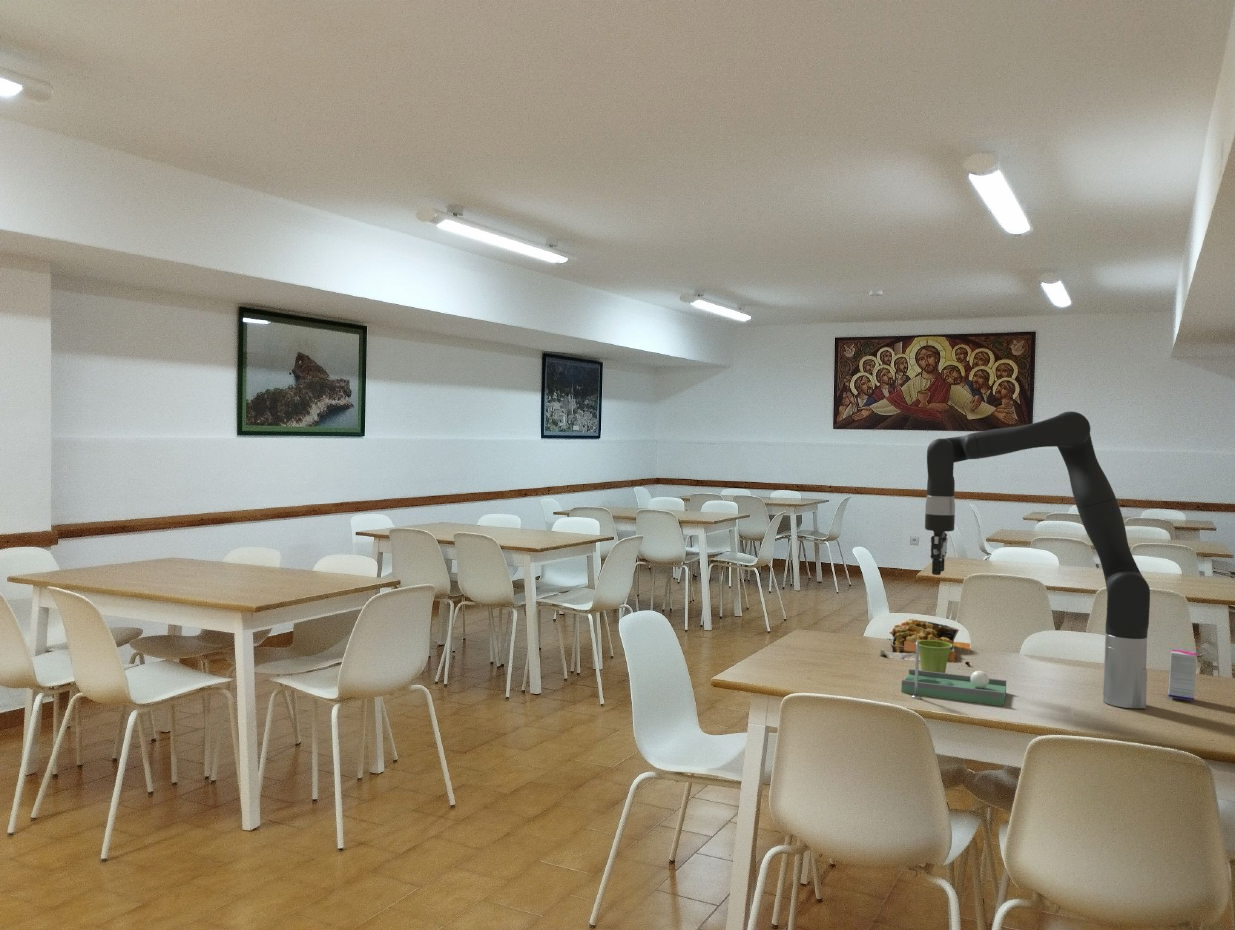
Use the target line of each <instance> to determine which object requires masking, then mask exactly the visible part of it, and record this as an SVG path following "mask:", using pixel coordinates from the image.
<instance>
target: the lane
mask: <svg viewBox="0 0 1235 930" xmlns="http://www.w3.org/2000/svg"><path fill="white" fill-rule="evenodd" d="M970 677H971V675H964V674H954V673H946V672H945V673H939V672H931V671H922V670H921V669H919V671H918V695H920V696H924V695H926V697H932V698H933V697H934V698H939V699H940V698H941V699H946V700H953V701H960V700H961V701H962V702H969V703H977V704H983V703H986V705H993V706H999V707H1004V706H1005V699H1006V695H1007V680H1006V679H999V678H990V677H989V683H988V685H987V686H986V687H985V688H976V687H974V686H973V685H972V683H971V680H970ZM900 691H901V693H903V692H904V693H905V694H910V695H914V691H915V668H908V675H907V676H906V678H905V679H901V689H900ZM961 701H960V702H961Z"/></svg>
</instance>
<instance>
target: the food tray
mask: <svg viewBox="0 0 1235 930" xmlns="http://www.w3.org/2000/svg"><path fill="white" fill-rule="evenodd" d="M959 631H960V630H959V629H958V628H956V627H954V626H949V625H947V624H941V623H936V622H933V621H926V620H920V619H915V618H912V619H911V618H909V619H908V620H905V621H904V622H901V623H900V624H894V626H893V628H892V630H891V631H890V632H888V633H889V634H891V636H890V637H889V636H887V637H886V638H885V640H886V639H888V640H889V639H892V640H890V641H891V642H890V647H891V648H892V652H890V651H889V652H888V651H885V649H880V652H879V656H881V657H887V658H891V659H896V660H897V659H898V660H905V661H914V662H915V659H916V651H906V650H904V641H906V642H917V641H921V640H935V641H942V642H947V643H950V644H952V647H951V649H950V652H949V655H948V660H947V662H953V663H955V662H956V661H958V660H959V658H958V654H957V653H956V649H957V648H958V649H959V648H961V649H962V650H963V649H965V651H964V653H970V652H971V651H970V650H971V649H970V648H971V647H970V642H960V641H955V639H956V637H957V636H958V635H957V634H958V633H959ZM954 648H956V649H954ZM961 649H960V650H961ZM960 653H961V656H964V654H963V651H960ZM919 662H920V655H919ZM964 664H965V665H966V666H968V667H971V664H970V661H965V662H964Z"/></svg>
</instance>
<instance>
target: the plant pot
mask: <svg viewBox="0 0 1235 930" xmlns="http://www.w3.org/2000/svg"><path fill="white" fill-rule="evenodd" d="M917 642H919V655H920V661H919V664H920V670H922V671H931V672H939V673H946V670H947V664H948V661H947V660H948V655H949V652H950V649H951V647H952V644H950V643H947V642H942V641H935V640H921V641H917Z"/></svg>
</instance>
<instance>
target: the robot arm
mask: <svg viewBox="0 0 1235 930" xmlns="http://www.w3.org/2000/svg"><path fill="white" fill-rule="evenodd" d="M1048 447H1051V448H1052V447H1056V448H1057V449H1058V451H1059V453H1060V455H1061V458H1062V460H1063V461H1064V464H1065V466H1066V469H1067V473H1068V476H1069V477H1068V478H1069V482H1070V487H1071V492H1072V496H1073V499H1074V502H1075V506H1076V508H1077V512H1078V514H1079V516H1080V520H1081V523H1082V525H1083V527H1084V530H1085V532H1086V534H1087V536H1088V538H1089V539H1090V542H1091V544H1092V546H1093V547H1094V549H1095V551H1096V553H1097V555H1098V559H1099V562H1100V565H1101V569H1102V573H1103V576H1104V580H1105V581H1104V582H1105V587H1106V592H1107V593H1106V594H1107V600H1106V618H1105V631H1104V632H1105V633H1104V634H1105V637H1104V638H1105V639H1104V661H1103V664H1104V665H1103V687H1102V688H1103V691H1102V702H1103V703H1105V704H1108V705H1110V706H1113V707H1120V708H1125V709H1147V705H1146V704H1147V685H1148V684H1147V681H1148V670H1147V657H1148V656H1147V655H1148V631H1149V625H1150V608H1151V589H1150V586H1149V583H1148V582H1147V580H1146V579H1145V578H1144V576H1143V574H1142V573H1141V571H1140V569H1139V567H1138V565H1137V563H1136V561H1135V559H1134V556H1133V554H1132V551H1131V549H1130V546H1129V541H1128V537H1127V529H1126V526H1125V521H1124V517H1123V515H1122V511H1121V507H1120V505H1119V502H1118V499H1117V498H1116V494H1115V492H1114V489H1113V488H1112V485H1111V484H1110V481H1109V479H1108V478H1107V475H1106V474H1105V473H1104V471H1103V469H1102V467H1101V465H1100V463H1099V461H1098V459H1097V456H1096V453H1095V448H1094V444H1093V441H1092V437H1091V424H1090V421H1089V420H1088V418H1086V416H1085V415H1083V414H1082V413H1080V412H1076V411H1064V412H1062V413H1060V414H1057V415H1055V416H1053V417H1049V418H1047V419H1043V420H1041V421H1037V422H1033V423H1028V424H1024V425H1016V426H1010V427H1009V426H1008V427H1002V428H1001V427H1000V428H995V429H988V430H982V431H977V432H972V433H968V434H965V435H960V436H953V437H946V438H936V439H934V440H932V441H931V442H930V443H929V445H928V446H927V450H926V469H927V470H926V471H927V484H926V499H925V500H926V501H925V512H924V514H925V515H924V516H925V517H924V529H925V530H926V531H932V532H933V535H932V536H931V537H930V559H931V563H932V564H931V565H932V566H931V574H932V575H933V576H940V575H941V573H942V572H944V571H945V561H946V560H945V558H946V555H947V550H948V540H949V539H948V537H947V536H948V534H947V532H954V531H955V520H956V519H955V518H956V517H955V516H956V501H955V489H956V488H955V484H956V483H955V481H956V480H955V477H954V463H959V462H963V461H968V460H980V459H985V458H991V457H996V456H997V457H998V456H1002V455H1007V454H1008V455H1009V454H1011V453H1016V452H1020V451H1023V450H1024V451H1025V450H1029V449H1031V450H1032V449H1037V448H1048Z"/></svg>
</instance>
